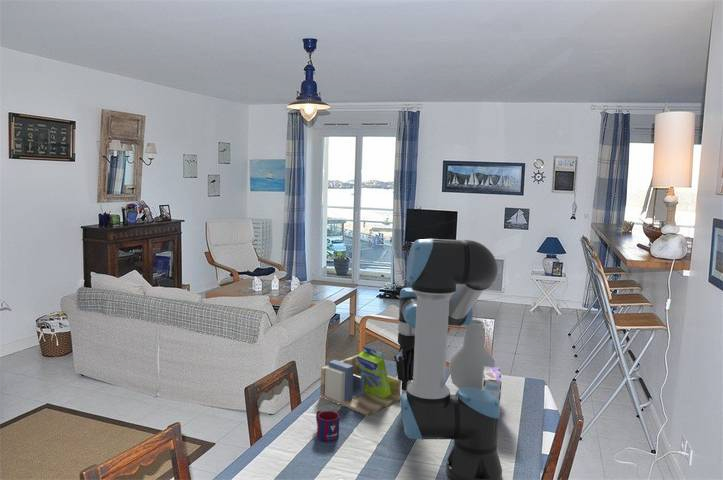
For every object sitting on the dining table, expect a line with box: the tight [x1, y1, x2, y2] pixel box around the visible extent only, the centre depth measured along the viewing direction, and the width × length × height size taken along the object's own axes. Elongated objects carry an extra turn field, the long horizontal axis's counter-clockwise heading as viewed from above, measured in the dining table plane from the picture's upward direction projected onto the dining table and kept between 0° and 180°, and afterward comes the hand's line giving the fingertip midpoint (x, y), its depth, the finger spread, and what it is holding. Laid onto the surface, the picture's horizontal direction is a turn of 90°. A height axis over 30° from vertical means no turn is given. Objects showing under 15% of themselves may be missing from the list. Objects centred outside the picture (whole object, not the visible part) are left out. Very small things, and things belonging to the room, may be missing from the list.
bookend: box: [352, 374, 366, 399], centre depth 203 cm, size 6×10×6 cm, turn 50°
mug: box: [315, 410, 340, 442], centre depth 173 cm, size 7×10×7 cm
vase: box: [448, 319, 496, 389], centre depth 206 cm, size 17×16×28 cm
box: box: [356, 345, 391, 399], centre depth 200 cm, size 10×4×17 cm, turn 45°
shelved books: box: [325, 359, 353, 402], centre depth 198 cm, size 5×9×12 cm, turn 50°
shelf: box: [320, 354, 402, 417], centre depth 201 cm, size 20×22×11 cm
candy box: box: [482, 366, 503, 404], centre depth 186 cm, size 14×6×16 cm, turn 168°
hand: (405, 397), depth 195 cm, fingers closed
